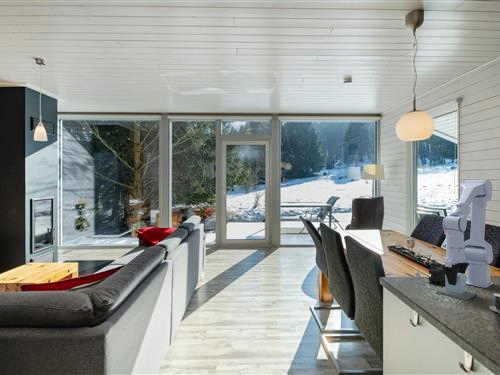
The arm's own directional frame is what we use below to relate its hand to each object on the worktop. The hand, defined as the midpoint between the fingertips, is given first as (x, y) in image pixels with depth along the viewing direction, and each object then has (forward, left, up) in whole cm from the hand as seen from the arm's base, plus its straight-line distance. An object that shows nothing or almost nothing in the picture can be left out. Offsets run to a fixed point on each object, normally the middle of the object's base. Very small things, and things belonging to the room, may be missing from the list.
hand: (456, 282), depth 117 cm
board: (0, 0, -4) cm, 4 cm away
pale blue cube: (0, 0, -3) cm, 3 cm away
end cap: (-11, -10, -5) cm, 15 cm away
